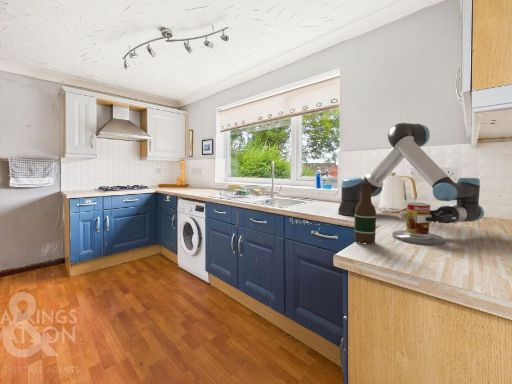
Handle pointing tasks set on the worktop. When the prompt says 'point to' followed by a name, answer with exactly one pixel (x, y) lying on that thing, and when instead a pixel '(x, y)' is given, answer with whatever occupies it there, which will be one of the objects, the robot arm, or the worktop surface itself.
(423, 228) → the canned food
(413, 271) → the worktop surface
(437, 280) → the worktop surface
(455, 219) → the robot arm
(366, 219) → the beer bottle
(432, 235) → the plate
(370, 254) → the worktop surface
